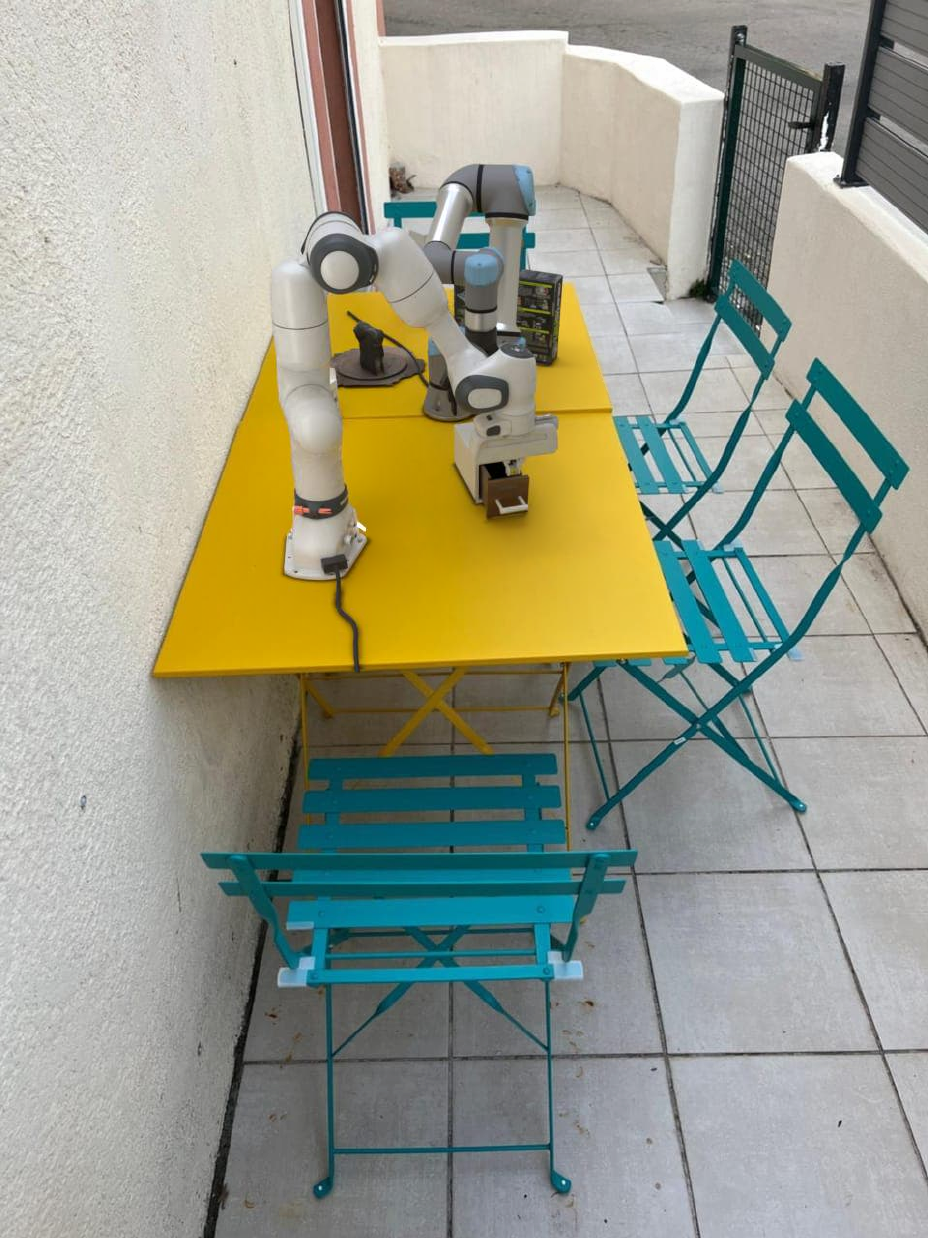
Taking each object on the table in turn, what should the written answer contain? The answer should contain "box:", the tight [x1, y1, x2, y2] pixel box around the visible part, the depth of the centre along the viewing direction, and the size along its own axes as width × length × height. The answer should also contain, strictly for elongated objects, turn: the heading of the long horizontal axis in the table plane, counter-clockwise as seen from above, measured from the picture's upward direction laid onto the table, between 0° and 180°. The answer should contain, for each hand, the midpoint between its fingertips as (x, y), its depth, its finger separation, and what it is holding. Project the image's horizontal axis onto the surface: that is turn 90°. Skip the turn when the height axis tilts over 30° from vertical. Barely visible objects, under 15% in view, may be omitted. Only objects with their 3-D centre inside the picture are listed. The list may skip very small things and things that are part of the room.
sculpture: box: [330, 320, 426, 387], centre depth 273 cm, size 33×35×16 cm
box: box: [453, 268, 564, 367], centre depth 277 cm, size 34×7×27 cm, turn 68°
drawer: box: [479, 460, 530, 519], centre depth 215 cm, size 24×10×10 cm, turn 15°
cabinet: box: [453, 421, 518, 505], centre depth 223 cm, size 20×11×12 cm, turn 15°
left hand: (512, 473), depth 203 cm, fingers closed
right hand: (480, 409), depth 220 cm, fingers open, 13 cm apart
